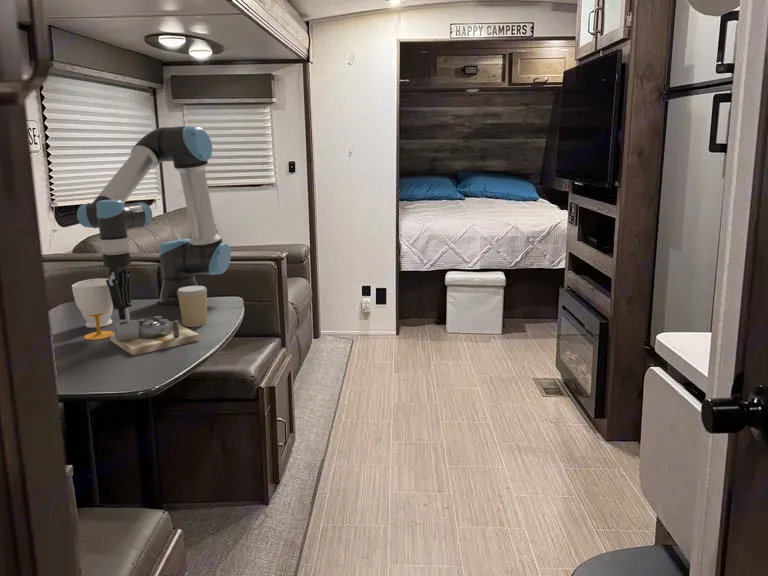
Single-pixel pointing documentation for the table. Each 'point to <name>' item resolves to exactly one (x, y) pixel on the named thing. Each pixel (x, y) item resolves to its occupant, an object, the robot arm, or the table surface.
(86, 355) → the table surface
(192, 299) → the coffee cup
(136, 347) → the housing plate
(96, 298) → the cup
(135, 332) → the grey notched machine part
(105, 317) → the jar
